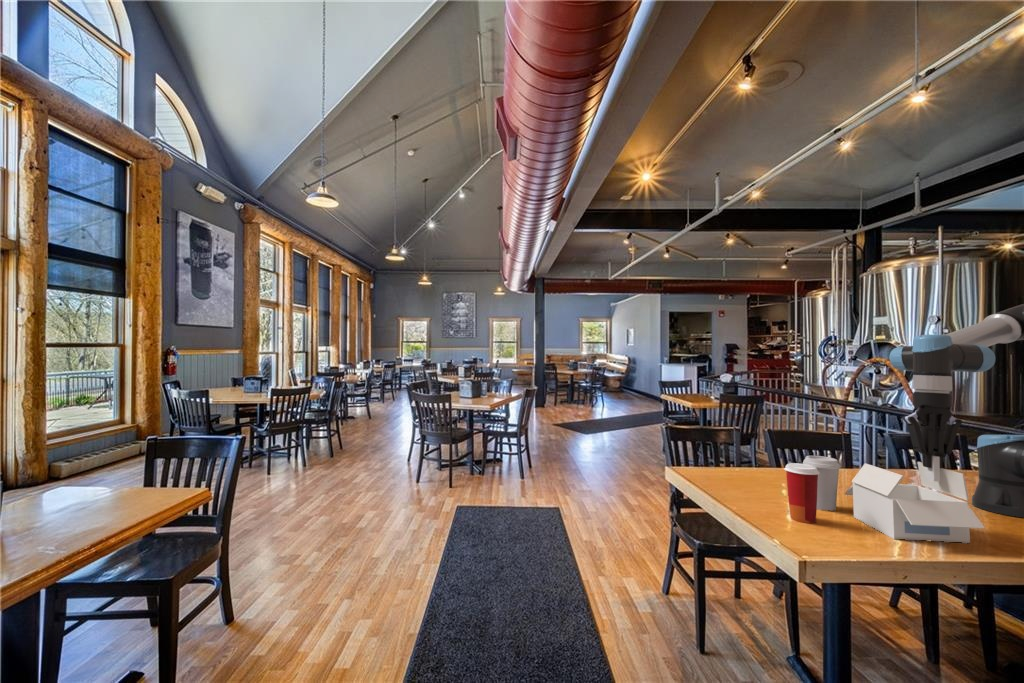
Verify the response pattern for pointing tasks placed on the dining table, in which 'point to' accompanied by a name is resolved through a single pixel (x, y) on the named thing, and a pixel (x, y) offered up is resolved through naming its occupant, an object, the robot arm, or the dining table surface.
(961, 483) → the flap
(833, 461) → the coffee cup
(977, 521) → the white carton
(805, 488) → the coffee cup
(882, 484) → the flap
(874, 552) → the dining table surface
